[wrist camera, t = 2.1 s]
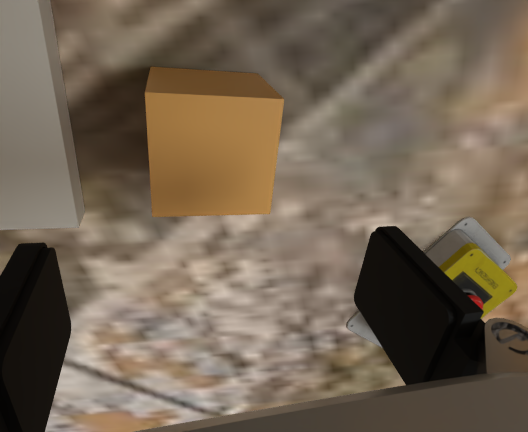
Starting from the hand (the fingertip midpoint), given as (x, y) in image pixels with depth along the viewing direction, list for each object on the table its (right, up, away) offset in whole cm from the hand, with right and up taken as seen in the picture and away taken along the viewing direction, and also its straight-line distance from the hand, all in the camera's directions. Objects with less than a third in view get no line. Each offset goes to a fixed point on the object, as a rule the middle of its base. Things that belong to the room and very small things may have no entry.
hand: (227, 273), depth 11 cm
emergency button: (+17, -5, +25) cm, 30 cm away
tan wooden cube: (-3, +7, +11) cm, 14 cm away
